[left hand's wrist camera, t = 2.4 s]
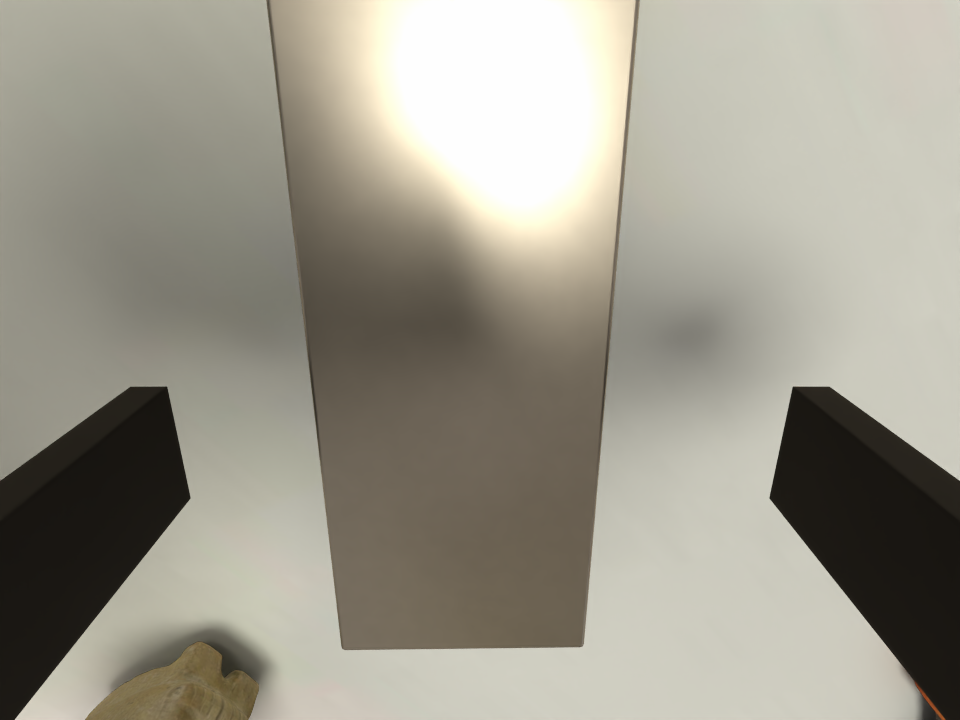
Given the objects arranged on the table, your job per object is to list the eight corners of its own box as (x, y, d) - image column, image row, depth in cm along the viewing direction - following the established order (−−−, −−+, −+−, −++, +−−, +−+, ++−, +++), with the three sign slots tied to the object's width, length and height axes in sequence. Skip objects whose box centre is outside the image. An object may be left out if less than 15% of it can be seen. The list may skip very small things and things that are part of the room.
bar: (538, 439, 21) (584, 649, 13) (393, 440, 21) (340, 651, 13) (579, -541, 12) (817, -1996, 4) (332, -545, 12) (26, -2035, 4)
